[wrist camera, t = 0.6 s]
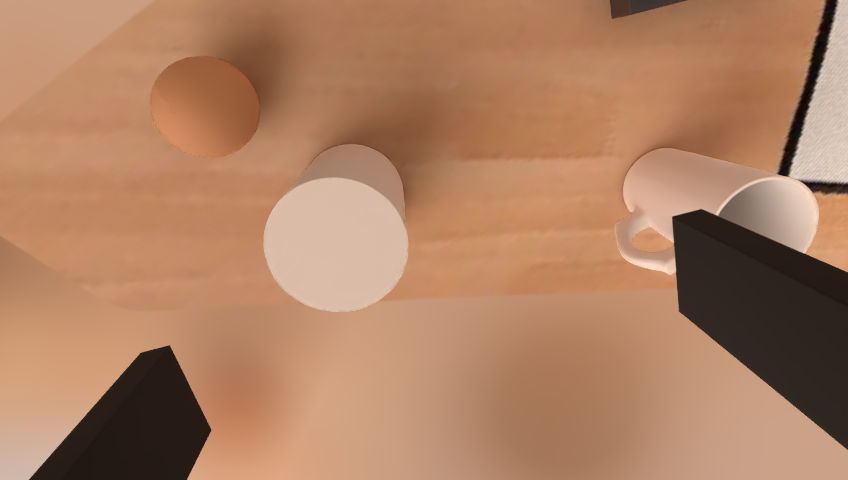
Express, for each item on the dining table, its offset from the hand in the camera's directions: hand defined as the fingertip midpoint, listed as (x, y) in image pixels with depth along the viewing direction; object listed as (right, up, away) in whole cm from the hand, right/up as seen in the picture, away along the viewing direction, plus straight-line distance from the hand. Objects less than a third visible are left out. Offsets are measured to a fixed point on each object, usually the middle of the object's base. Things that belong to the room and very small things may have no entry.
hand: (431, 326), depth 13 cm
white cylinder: (-6, +6, +26) cm, 28 cm away
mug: (+18, +6, +28) cm, 34 cm away
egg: (-15, +12, +24) cm, 31 cm away
